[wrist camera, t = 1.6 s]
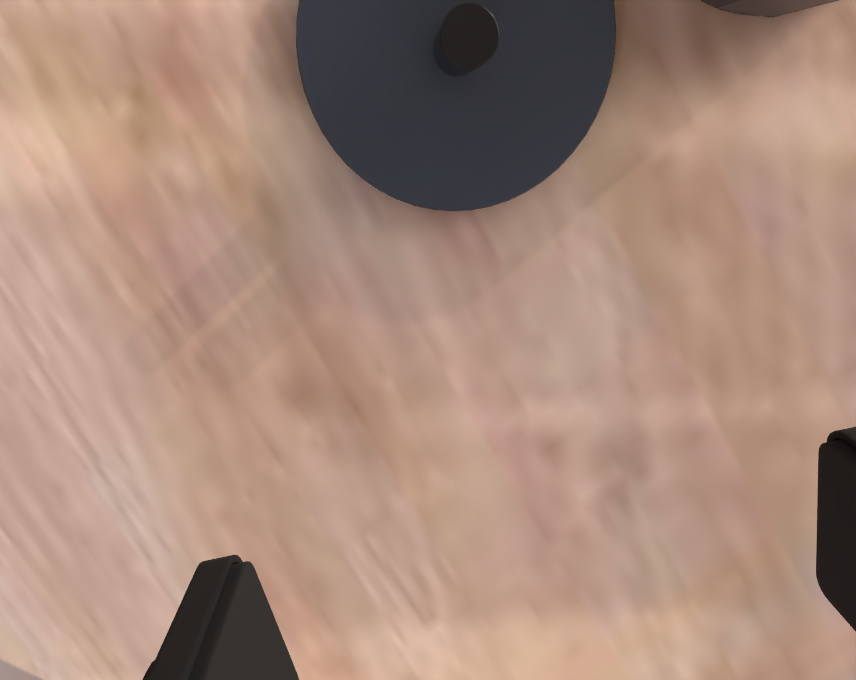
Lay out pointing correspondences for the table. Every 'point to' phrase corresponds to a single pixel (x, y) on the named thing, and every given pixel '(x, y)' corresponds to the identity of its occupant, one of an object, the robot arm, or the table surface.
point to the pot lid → (455, 90)
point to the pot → (764, 6)
